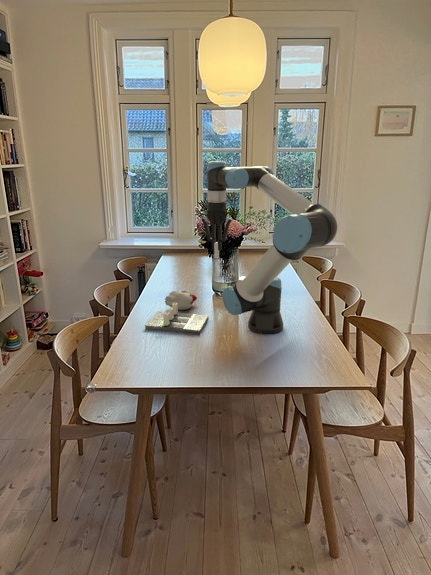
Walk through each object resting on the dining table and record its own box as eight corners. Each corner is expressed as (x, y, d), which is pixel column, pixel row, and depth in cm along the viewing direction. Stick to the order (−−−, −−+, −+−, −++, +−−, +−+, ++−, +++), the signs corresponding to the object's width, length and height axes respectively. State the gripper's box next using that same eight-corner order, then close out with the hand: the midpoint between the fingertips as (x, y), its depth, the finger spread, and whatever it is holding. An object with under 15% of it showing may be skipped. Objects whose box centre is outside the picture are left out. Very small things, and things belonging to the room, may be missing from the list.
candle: (163, 309, 191) (185, 303, 202) (180, 314, 184) (201, 309, 196) (164, 290, 189) (186, 286, 200) (181, 295, 182) (203, 291, 194)
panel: (208, 319, 180) (208, 315, 180) (199, 334, 166) (199, 330, 165) (158, 315, 185) (157, 310, 184) (145, 329, 170) (145, 324, 170)
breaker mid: (173, 317, 176) (173, 307, 175) (172, 319, 174) (171, 309, 172) (169, 317, 176) (169, 306, 175) (168, 319, 174) (167, 308, 173)
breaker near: (169, 323, 171) (169, 312, 169) (167, 325, 168) (167, 314, 167) (165, 322, 171) (165, 312, 169) (163, 325, 169) (163, 314, 167)
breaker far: (177, 312, 182) (177, 302, 180) (176, 314, 179) (175, 304, 178) (174, 312, 182) (173, 302, 180) (172, 314, 180) (172, 304, 178)
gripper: (234, 200, 164) (233, 256, 171) (203, 199, 166) (203, 254, 174) (231, 202, 157) (230, 260, 164) (198, 201, 159) (199, 259, 167)
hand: (216, 257), depth 169 cm, fingers closed
